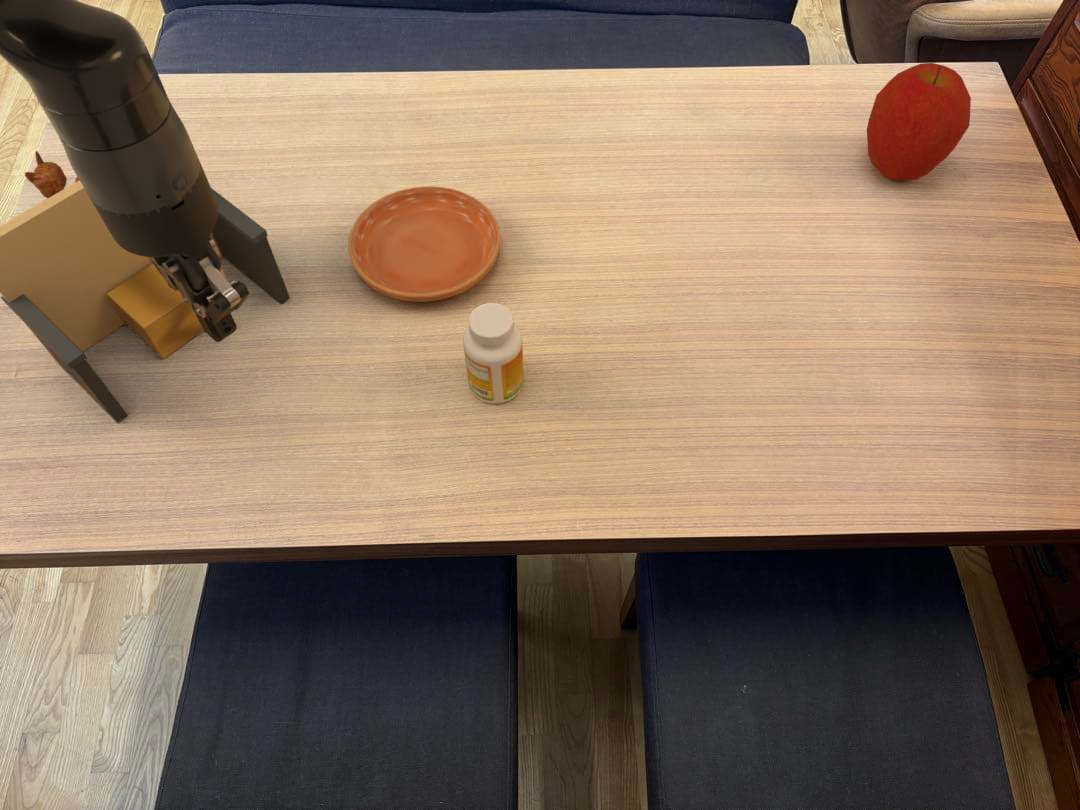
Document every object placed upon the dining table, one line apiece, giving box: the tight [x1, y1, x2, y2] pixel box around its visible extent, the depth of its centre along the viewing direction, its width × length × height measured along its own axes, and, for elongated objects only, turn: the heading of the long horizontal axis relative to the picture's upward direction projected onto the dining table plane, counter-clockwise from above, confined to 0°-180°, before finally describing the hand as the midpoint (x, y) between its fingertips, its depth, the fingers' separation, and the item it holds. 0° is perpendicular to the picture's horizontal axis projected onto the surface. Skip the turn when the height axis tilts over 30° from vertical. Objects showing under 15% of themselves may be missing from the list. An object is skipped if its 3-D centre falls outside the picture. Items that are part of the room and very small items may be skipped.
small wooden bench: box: [0, 180, 291, 424], centre depth 80 cm, size 11×21×16 cm, turn 138°
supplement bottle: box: [462, 302, 525, 405], centre depth 79 cm, size 5×5×10 cm
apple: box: [866, 62, 972, 182], centre depth 93 cm, size 10×10×14 cm
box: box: [107, 264, 205, 360], centre depth 85 cm, size 6×6×5 cm
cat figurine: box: [24, 150, 79, 199], centre depth 90 cm, size 18×7×14 cm, turn 179°
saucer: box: [347, 185, 501, 303], centre depth 91 cm, size 16×16×3 cm
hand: (222, 332), depth 72 cm, fingers closed
